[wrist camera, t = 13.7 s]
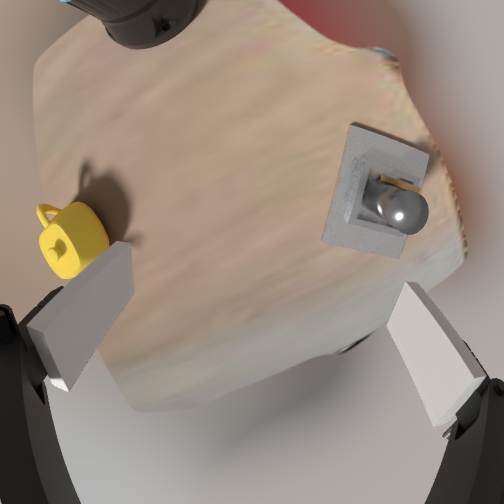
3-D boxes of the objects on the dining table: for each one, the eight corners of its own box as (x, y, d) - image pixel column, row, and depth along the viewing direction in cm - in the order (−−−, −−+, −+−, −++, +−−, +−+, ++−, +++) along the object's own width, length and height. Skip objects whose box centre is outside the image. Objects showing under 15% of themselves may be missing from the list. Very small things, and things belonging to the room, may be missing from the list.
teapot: (136, 264, 46) (108, 296, 36) (98, 287, 48) (70, 317, 38) (84, 177, 40) (44, 190, 30) (51, 209, 42) (14, 227, 32)
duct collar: (349, 125, 35) (356, 124, 32) (426, 154, 36) (437, 156, 32) (320, 239, 42) (325, 248, 39) (396, 256, 43) (404, 265, 39)
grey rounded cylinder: (360, 209, 39) (388, 230, 30) (369, 171, 37) (400, 181, 27) (389, 216, 39) (421, 238, 30) (398, 179, 37) (434, 192, 28)
